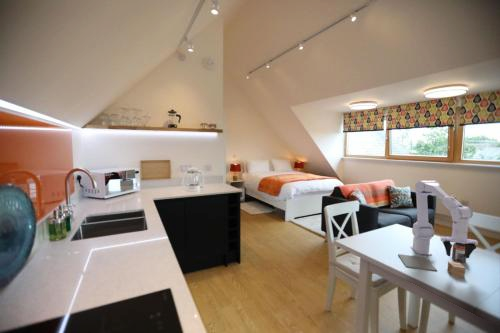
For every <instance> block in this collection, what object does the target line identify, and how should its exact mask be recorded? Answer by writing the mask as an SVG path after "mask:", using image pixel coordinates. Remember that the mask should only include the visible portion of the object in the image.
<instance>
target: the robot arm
mask: <svg viewBox="0 0 500 333" xmlns="http://www.w3.org/2000/svg"><path fill="white" fill-rule="evenodd" d="M414 187H415V188H414V189H415V191H414V192H415V196H416V198H415V199H416V213H417V214H416V215H417V218H416V219H417V221H416V222H414V223H413V224H412V229H411V231H412V232H411V233H412V235H413V238H412V245H411V246H410V247H411V249H412V250H413V251H414V252H415V254H419V255H427V256H432V255H433V254H432V252H430V243H431V242H430V241H431V239H432V238H433V237H434V236H435V229H434V228H433V226H434V225H432V224H431V223H430V222H429V209H428V206H429V205H428V196H429V195H430V194H434V195H435V196H436V197H438V198H439V199H440V200H442V201H441V203H442V205H444V207H445V208H446V209H448V210H449V212H450V216H451V220H452V228H451V236H440V241H441V242H442V244H443V245H444V249H445V255H446V256H448V257H451V255H452V253H451V252H452V249H453V244H452V243H463V244H465V257H466V259H469V258H470V256H471V255H472V253H473V251H474V250H476V249H477V246H478V245H479V241H478V240H476V239H472V238H468V233H469V232H468V231H469V221H470V219H472V218H473V216H474V212H473V210H472V209H471V207H469V206H465V205H463V204H462V203H461V202H459V201H458V200H457V199H456V197H454V196H451V195H450V196H449V195H448V194H447V193H446V191H444V190H443V189H442V188H441V185H440V183H439V182H438V181H437V180H417V182H416V183H415V184H414Z"/></svg>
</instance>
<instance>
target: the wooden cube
mask: <svg viewBox="0 0 500 333" xmlns="http://www.w3.org/2000/svg"><path fill="white" fill-rule="evenodd" d="M447 272H448V273H449V274H450V276H452V277H458V278H459V277H460V278H466V275H465V274H466V267H465V266H464V265H463V264H462V263H461V262H457V261H455V262H454V261H448V262H447Z"/></svg>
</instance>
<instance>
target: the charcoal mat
mask: <svg viewBox="0 0 500 333" xmlns="http://www.w3.org/2000/svg"><path fill="white" fill-rule="evenodd" d="M397 256H398V257H399V258H400V260H401V262H402V264H403V265H404V266H405V267H406V268H409V269H419V270H425V271H431V272H437V271H438V269H436V267H435V266H434V265H433V264H432V263H431V261H430V260H429V259H428V258H427V257H424V256H418V255H410V254H400V253H398V254H397Z"/></svg>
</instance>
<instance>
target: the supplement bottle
mask: <svg viewBox="0 0 500 333" xmlns="http://www.w3.org/2000/svg"><path fill="white" fill-rule="evenodd" d="M451 252H452V253H451V258H452V260H454V261H455V262H457V263H466V261H467V258H466V257H465V244H463V243H456V242H453V244H452V251H451Z"/></svg>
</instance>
